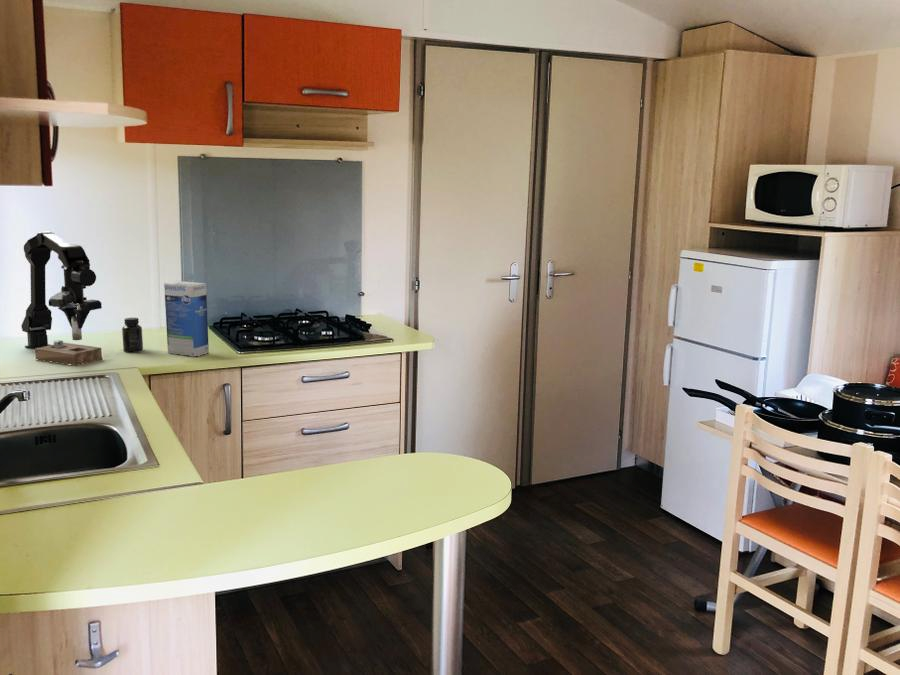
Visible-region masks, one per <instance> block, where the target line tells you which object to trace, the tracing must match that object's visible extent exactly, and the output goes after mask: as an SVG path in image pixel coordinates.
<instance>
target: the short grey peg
mask: <svg viewBox="0 0 900 675" xmlns="http://www.w3.org/2000/svg"><path fill="white" fill-rule="evenodd" d="M63 342H64V340H60V339H59V340H54V341H53V345H54V348H57V349H59V348H63Z"/></svg>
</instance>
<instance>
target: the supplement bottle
mask: <svg viewBox="0 0 900 675" xmlns="http://www.w3.org/2000/svg"><path fill="white" fill-rule="evenodd" d="M139 320H140V319H139V318H138V317H126V318H124V320H123V321H124V326H123V327H122V329H121V334H122V348H123V352H125V353H140V352H142V351H143V350H144V342H143V338H144V337H143V328H142V326H141V325H140V321H139Z"/></svg>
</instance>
